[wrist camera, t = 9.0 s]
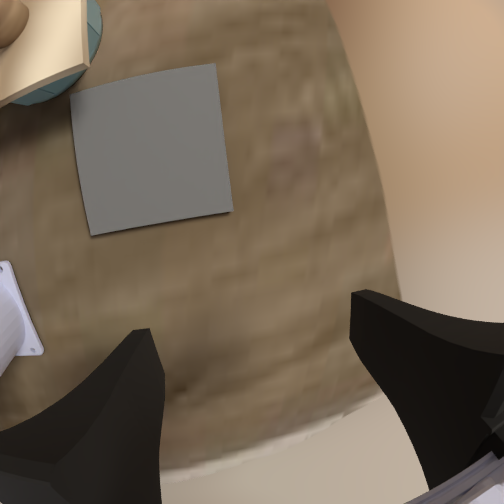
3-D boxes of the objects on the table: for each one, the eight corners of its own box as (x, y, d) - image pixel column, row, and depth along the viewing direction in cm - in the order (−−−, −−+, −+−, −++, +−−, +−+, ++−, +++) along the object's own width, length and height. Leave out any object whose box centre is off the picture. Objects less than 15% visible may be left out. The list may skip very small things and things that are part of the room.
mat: (94, 233, 18) (91, 235, 17) (73, 95, 15) (69, 94, 14) (232, 209, 19) (233, 211, 18) (215, 65, 16) (215, 63, 15)
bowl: (-1, 121, 14) (-35, 120, 10) (3, 21, 11) (-24, 6, 8) (105, 82, 15) (83, 67, 11) (104, -22, 12) (89, -49, 9)
